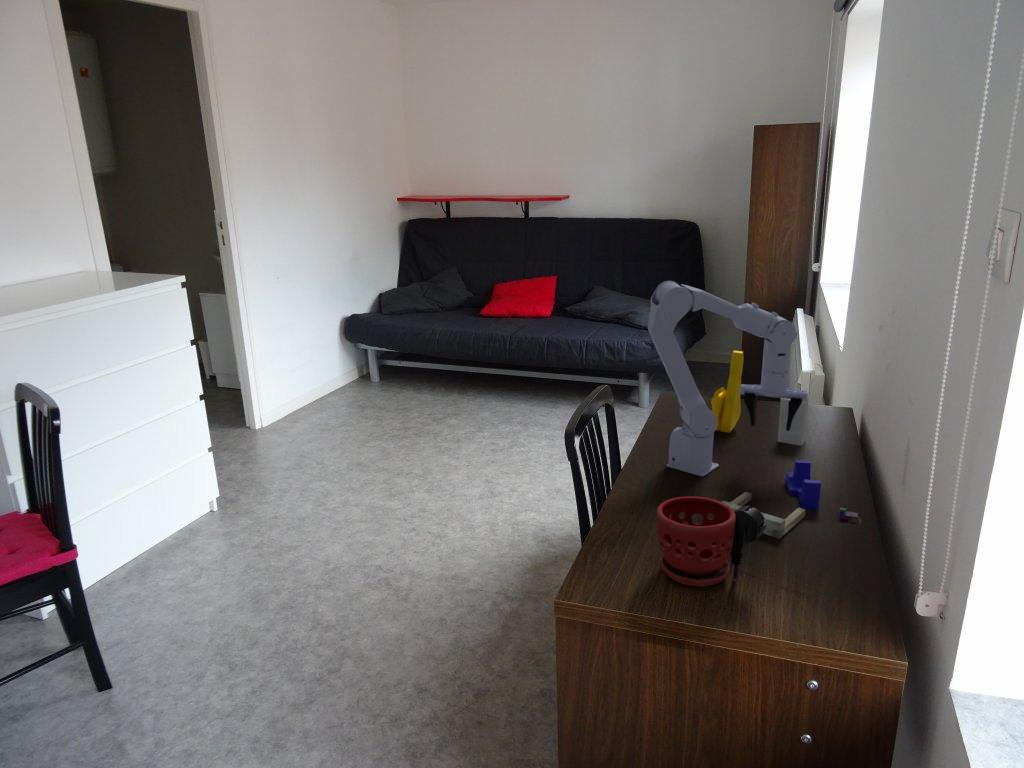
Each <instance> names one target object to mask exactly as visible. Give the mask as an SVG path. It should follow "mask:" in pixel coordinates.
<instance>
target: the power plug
mask: <svg viewBox="0 0 1024 768" xmlns="http://www.w3.org/2000/svg"><path fill="white" fill-rule="evenodd" d="M734 512H735V515H736V524H735V533H734V537H733V547H732V550H731V553H730V555H729V557H730V562H731V565H733V579H735V580H737V579H738V575H739V567H740V566H741V565H742V564H743V560H744V557H745V553H746V549H747V545H748V544H750V543H753V542H754V541H755V540H757V539H758V538H759V537H761V536H762V535H763V534H764V533H763V532H764V530H765V529H766V524H764V521H766V517H764V516H763V515H762V513H763V512H762V511H760V510H759V509H757V508H755V507H751V506H750V505H743V506H742V507H740V508H739V509H737V510H736V511H734ZM761 512H762V513H761Z"/></svg>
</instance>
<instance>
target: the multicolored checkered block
mask: <svg viewBox="0 0 1024 768" xmlns="http://www.w3.org/2000/svg"><path fill="white" fill-rule="evenodd" d="M838 518H839V520H843V521H844V520H845V521H847V522H848V523H852V524H859V525H861V524H862V519H861V518H860V517H859V516H858V512H854V511H847V508H846V507H845V508H844V507H839V514H838Z"/></svg>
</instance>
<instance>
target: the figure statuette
mask: <svg viewBox="0 0 1024 768" xmlns="http://www.w3.org/2000/svg"><path fill="white" fill-rule="evenodd" d="M744 359H745V358H744V351H740V350H733V351H732V352H731V359H730V364H729V365H730V366H729V375H728V380H727V384H726V385H727V386H726V389H725V387H723V386H721V387H720V388H718V389H717V390H716V391H715V392H714V394H713V397H712V398H710V400H711V402H710V403H711V407H712V409H711V412H713V413H714V414H715V415H716V417H717V420H718V424H717V428H716V430H715V431H718V430H719V431H720V432H722V433H729V434H731V433H732V431H733V429H734V428H735V426H736V424H737V422H738V420H739V418H740V417H741V411H742V409H741V405H742V404H741V394H740V386H741V385H742V374H743V368H744V367H743V366H744Z"/></svg>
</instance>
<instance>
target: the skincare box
mask: <svg viewBox="0 0 1024 768" xmlns="http://www.w3.org/2000/svg"><path fill="white" fill-rule="evenodd" d="M779 399H780V402H779V403H780V404H779V415H778V416H779V418H778V429H777V442H779V443H783V444H784V443H785V444H789V445H795V446H800V447H803V445H804V443H805V441H806V435H807V434H806V433H807V424H808V421H807V420H808V408H809V399H810V398H809V397H808V400H807V402H803V401H802V403H801V405H800V407H799V408H798V410H797V412H796V413H795V415H794V418H793V420H792V424H791V428H790V431H787V430H786V425H787V420H788V403H789V401H790V400H791V399H785V398H779Z"/></svg>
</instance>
